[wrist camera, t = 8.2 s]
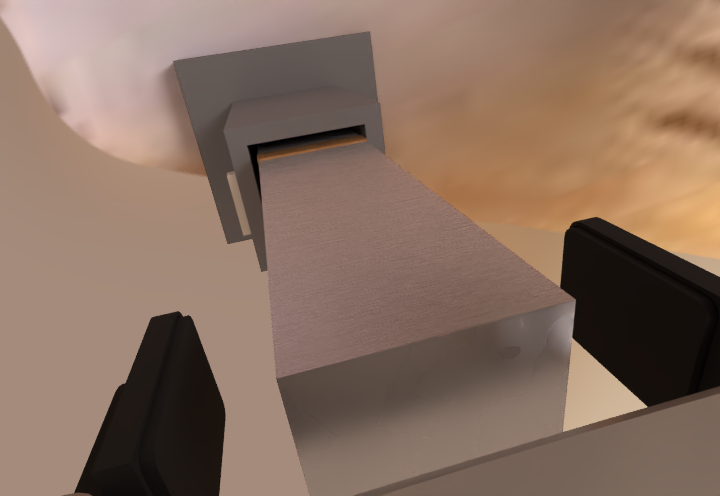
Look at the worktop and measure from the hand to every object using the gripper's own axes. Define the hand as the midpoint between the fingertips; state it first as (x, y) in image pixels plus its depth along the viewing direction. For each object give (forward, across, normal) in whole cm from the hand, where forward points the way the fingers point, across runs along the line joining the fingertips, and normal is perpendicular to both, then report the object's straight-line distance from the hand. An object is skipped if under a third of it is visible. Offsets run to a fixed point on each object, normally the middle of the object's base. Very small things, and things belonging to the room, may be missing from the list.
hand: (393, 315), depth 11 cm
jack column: (+16, +1, 0) cm, 16 cm away
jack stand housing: (+25, +1, 0) cm, 25 cm away
